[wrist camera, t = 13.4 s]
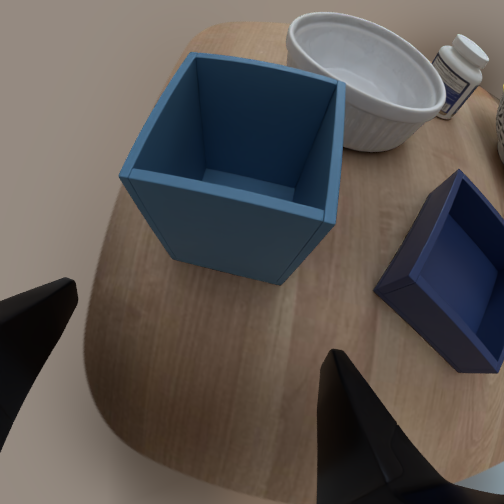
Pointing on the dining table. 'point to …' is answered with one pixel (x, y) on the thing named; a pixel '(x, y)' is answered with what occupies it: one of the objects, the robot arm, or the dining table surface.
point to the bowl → (500, 127)
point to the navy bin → (453, 277)
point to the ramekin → (368, 77)
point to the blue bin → (240, 165)
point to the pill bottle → (459, 72)
